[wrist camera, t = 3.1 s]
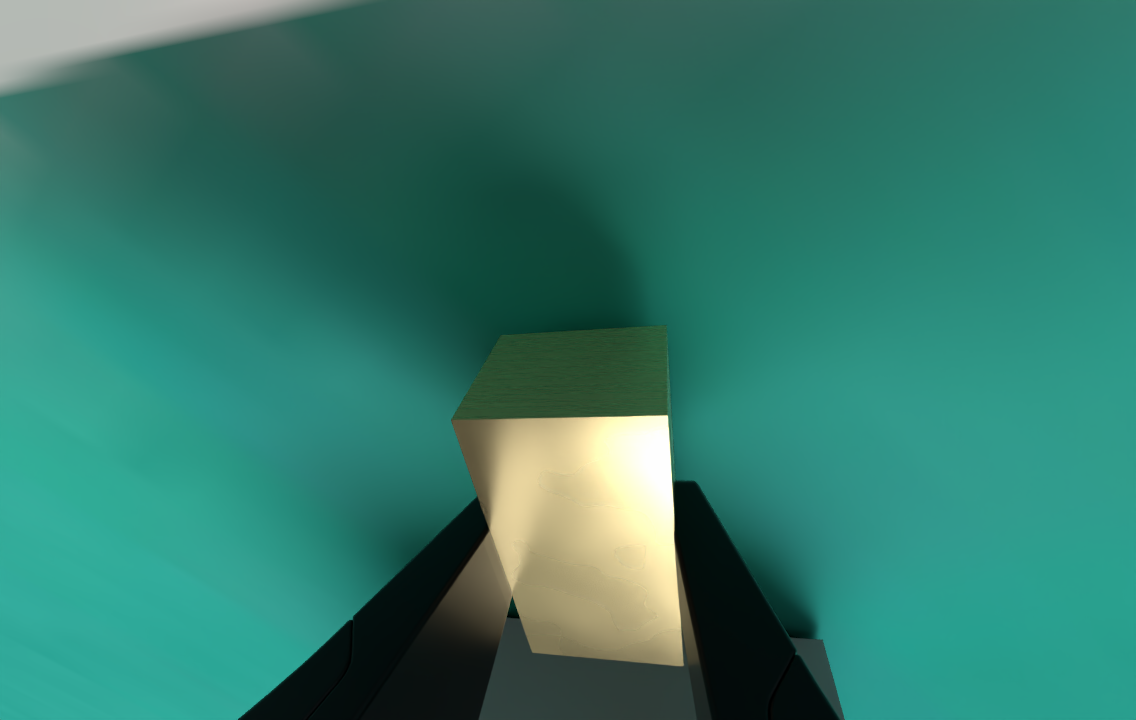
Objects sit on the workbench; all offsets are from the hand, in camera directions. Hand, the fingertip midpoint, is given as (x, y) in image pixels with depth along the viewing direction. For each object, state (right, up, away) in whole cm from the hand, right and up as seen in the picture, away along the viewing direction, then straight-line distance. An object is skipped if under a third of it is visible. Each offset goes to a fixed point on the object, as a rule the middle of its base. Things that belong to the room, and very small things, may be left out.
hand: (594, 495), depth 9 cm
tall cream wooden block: (0, +1, +1) cm, 1 cm away
